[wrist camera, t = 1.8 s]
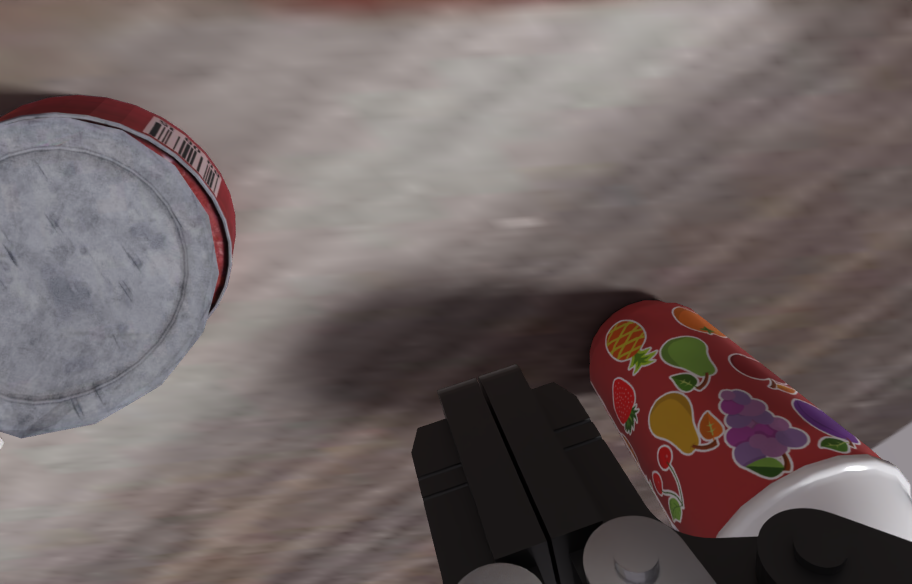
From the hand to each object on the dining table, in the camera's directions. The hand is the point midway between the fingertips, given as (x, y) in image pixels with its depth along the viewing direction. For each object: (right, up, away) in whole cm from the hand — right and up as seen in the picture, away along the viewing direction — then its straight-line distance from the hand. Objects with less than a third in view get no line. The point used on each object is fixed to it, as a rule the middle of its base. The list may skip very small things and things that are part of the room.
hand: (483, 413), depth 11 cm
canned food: (-15, +5, +14) cm, 21 cm away
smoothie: (+9, -1, +24) cm, 26 cm away
